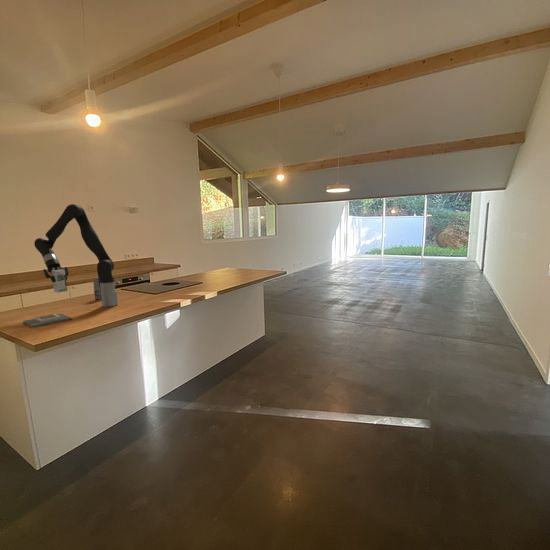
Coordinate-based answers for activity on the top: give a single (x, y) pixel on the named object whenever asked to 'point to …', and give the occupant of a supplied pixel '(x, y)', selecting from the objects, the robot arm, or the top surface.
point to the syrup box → (59, 281)
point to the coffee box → (97, 289)
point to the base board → (46, 319)
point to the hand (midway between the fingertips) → (60, 280)
